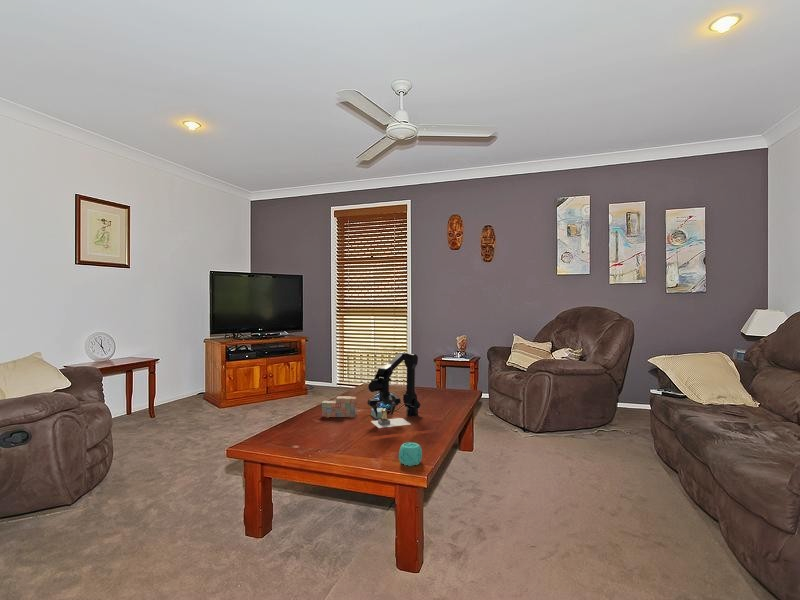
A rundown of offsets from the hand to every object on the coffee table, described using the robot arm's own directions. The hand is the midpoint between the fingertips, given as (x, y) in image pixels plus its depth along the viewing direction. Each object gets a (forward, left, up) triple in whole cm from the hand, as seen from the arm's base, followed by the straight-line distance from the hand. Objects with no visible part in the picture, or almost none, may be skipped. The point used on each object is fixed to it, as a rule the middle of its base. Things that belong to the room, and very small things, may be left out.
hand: (384, 416), depth 254 cm
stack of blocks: (+19, -30, -6) cm, 37 cm away
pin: (0, 0, -4) cm, 4 cm away
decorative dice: (+8, +59, -6) cm, 60 cm away
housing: (-2, -16, -6) cm, 17 cm away
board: (-4, 0, -6) cm, 7 cm away
